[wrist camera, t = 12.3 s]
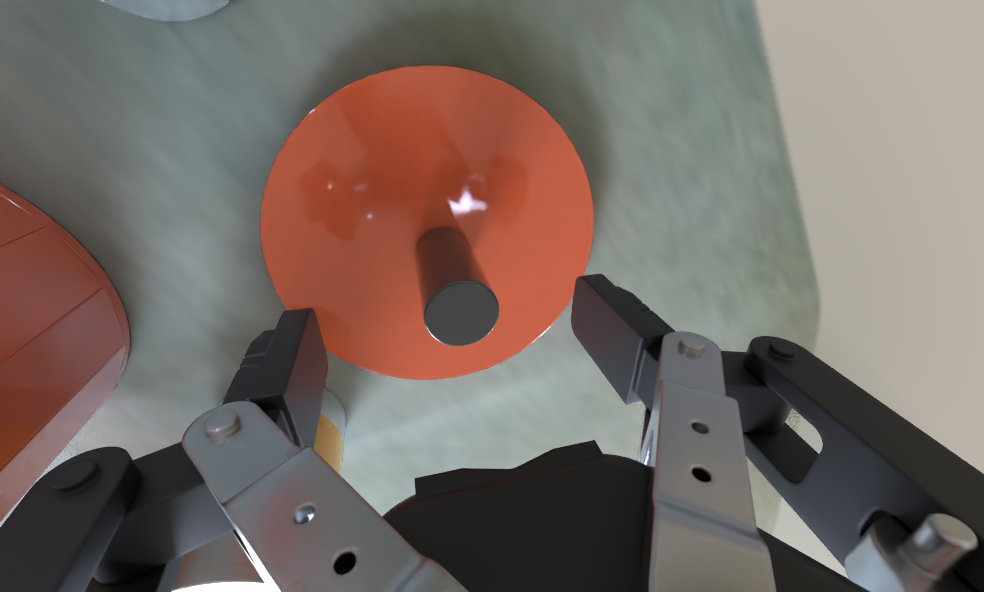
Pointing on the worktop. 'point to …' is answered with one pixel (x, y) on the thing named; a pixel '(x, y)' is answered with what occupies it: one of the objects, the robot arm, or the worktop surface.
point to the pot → (50, 342)
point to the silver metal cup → (169, 8)
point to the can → (223, 562)
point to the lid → (427, 221)
